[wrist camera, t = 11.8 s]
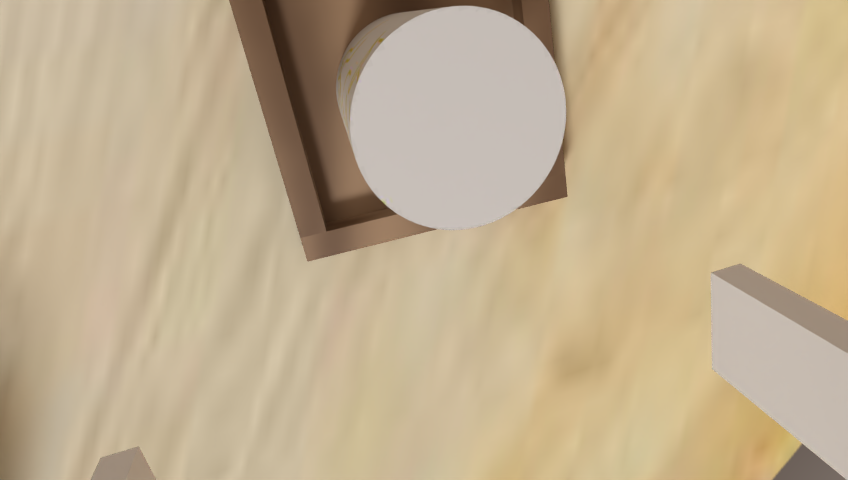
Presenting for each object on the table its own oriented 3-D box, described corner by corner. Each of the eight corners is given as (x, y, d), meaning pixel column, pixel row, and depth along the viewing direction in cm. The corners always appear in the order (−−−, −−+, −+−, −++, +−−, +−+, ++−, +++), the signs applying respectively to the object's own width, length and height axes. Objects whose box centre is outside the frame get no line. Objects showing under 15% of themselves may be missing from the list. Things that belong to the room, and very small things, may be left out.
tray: (307, 245, 35) (307, 261, 33) (224, -37, 29) (216, -42, 26) (551, 185, 36) (567, 196, 34) (521, -95, 30) (538, -104, 28)
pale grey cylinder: (329, 14, 30) (340, 9, 19) (479, 9, 31) (572, 2, 20) (342, 166, 33) (358, 239, 22) (479, 156, 34) (559, 220, 23)
